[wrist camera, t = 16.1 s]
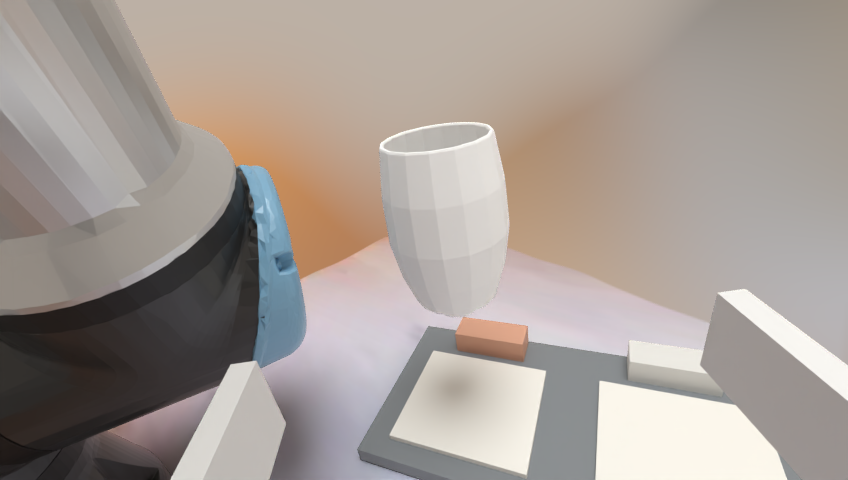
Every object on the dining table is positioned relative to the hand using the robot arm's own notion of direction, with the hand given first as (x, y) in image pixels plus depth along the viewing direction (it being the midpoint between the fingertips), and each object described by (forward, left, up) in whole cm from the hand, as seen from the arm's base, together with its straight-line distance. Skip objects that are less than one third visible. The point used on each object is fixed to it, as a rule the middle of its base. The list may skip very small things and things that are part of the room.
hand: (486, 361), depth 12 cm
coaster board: (+1, +13, -18) cm, 22 cm away
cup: (-6, +12, -17) cm, 21 cm away
